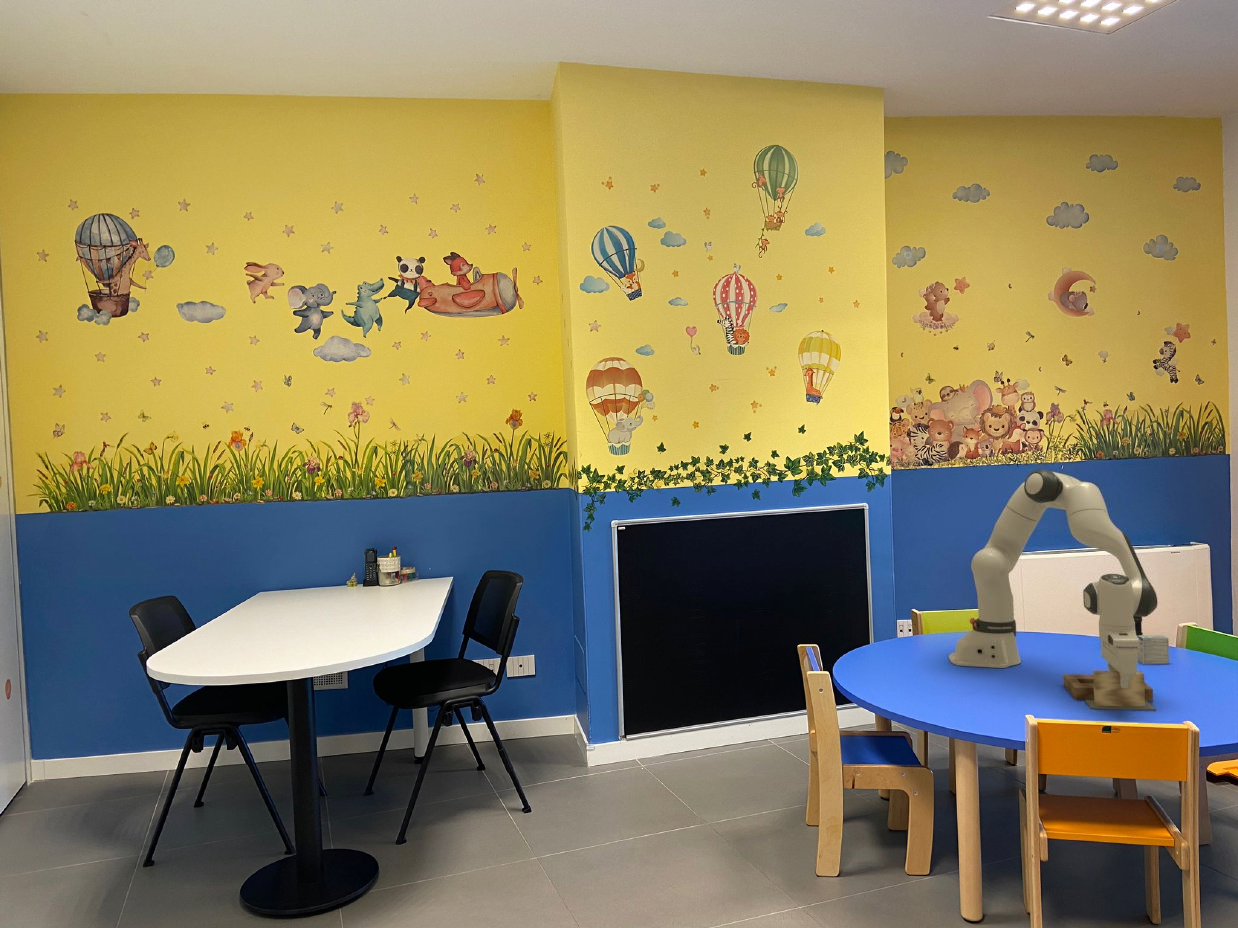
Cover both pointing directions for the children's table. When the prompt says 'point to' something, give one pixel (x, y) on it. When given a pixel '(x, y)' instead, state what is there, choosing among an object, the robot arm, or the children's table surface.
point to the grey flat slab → (1094, 706)
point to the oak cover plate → (1118, 689)
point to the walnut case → (1090, 687)
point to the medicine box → (1153, 649)
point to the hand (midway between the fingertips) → (1118, 682)
